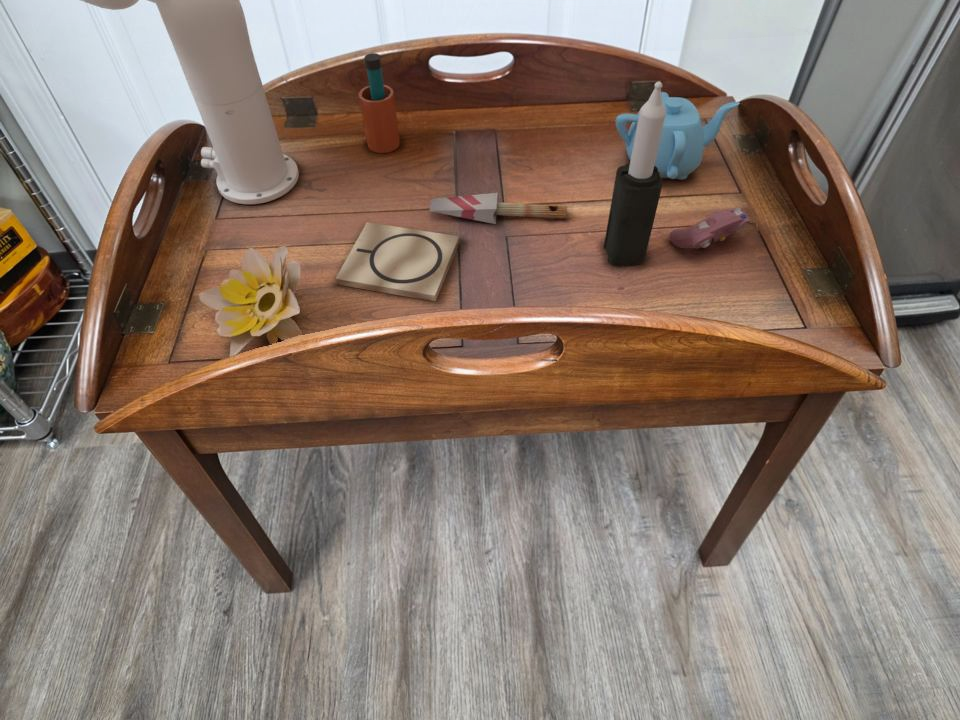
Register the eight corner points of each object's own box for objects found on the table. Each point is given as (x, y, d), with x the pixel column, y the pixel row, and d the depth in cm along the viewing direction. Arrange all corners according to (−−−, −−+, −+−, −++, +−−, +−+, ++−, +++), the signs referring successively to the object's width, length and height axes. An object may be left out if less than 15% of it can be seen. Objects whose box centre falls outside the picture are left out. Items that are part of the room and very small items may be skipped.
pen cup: (362, 151, 107) (353, 100, 100) (374, 132, 111) (366, 82, 103) (393, 155, 106) (386, 104, 99) (404, 136, 110) (398, 86, 103)
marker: (375, 142, 108) (361, 59, 97) (380, 134, 109) (367, 52, 98) (389, 144, 107) (376, 61, 96) (394, 136, 109) (382, 53, 98)
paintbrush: (431, 188, 95) (567, 197, 95) (432, 203, 98) (564, 212, 97) (428, 204, 93) (567, 213, 93) (429, 219, 95) (565, 228, 95)
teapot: (603, 167, 104) (611, 103, 95) (659, 128, 109) (672, 64, 100) (667, 203, 98) (682, 139, 89) (723, 160, 103) (742, 96, 94)
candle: (602, 242, 92) (630, 71, 72) (637, 239, 92) (675, 68, 73) (609, 267, 89) (641, 95, 69) (646, 264, 89) (688, 92, 69)
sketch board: (337, 284, 88) (335, 277, 87) (368, 228, 95) (366, 221, 94) (435, 301, 85) (435, 294, 84) (459, 242, 93) (459, 235, 92)
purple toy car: (678, 264, 91) (704, 243, 84) (663, 236, 92) (688, 213, 85) (733, 241, 94) (762, 220, 87) (718, 214, 94) (746, 191, 88)
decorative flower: (195, 286, 86) (186, 226, 78) (281, 274, 90) (281, 218, 83) (217, 372, 78) (210, 316, 70) (311, 355, 83) (313, 300, 75)
